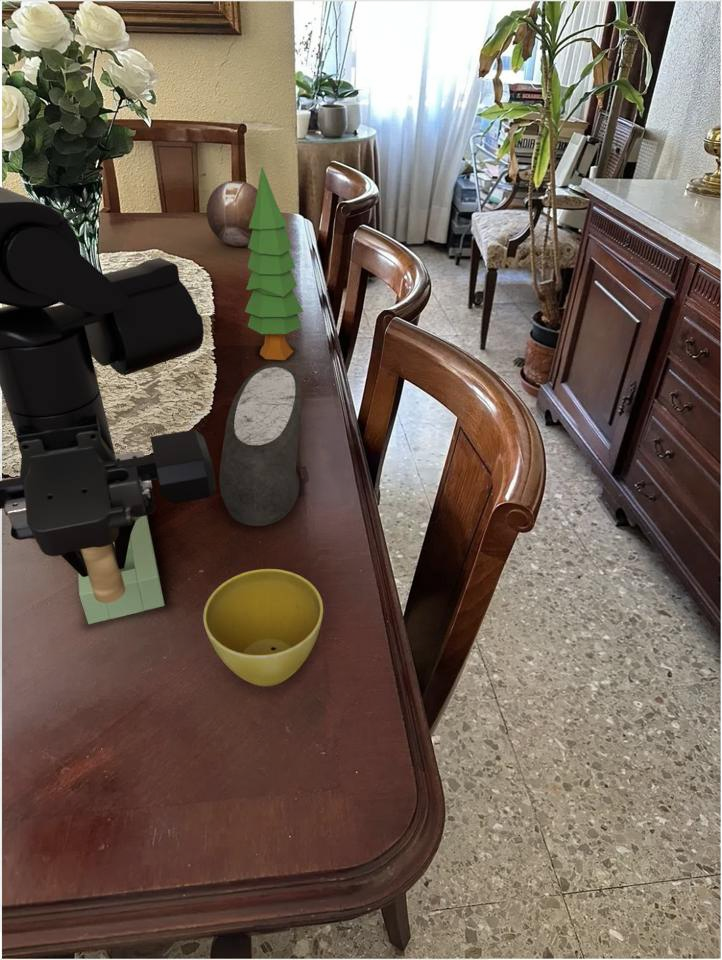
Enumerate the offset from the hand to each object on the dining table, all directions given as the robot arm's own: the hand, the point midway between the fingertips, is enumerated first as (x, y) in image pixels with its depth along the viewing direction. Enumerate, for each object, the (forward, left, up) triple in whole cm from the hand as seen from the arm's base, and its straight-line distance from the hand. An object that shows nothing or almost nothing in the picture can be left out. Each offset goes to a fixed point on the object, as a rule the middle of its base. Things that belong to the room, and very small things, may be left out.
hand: (103, 569), depth 52 cm
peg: (0, 0, -3) cm, 2 cm away
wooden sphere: (+38, +126, -12) cm, 132 cm away
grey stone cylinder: (+20, +27, -12) cm, 36 cm away
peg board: (0, +16, -12) cm, 20 cm away
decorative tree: (+30, +62, -12) cm, 70 cm away
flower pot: (+12, -4, -12) cm, 17 cm away
